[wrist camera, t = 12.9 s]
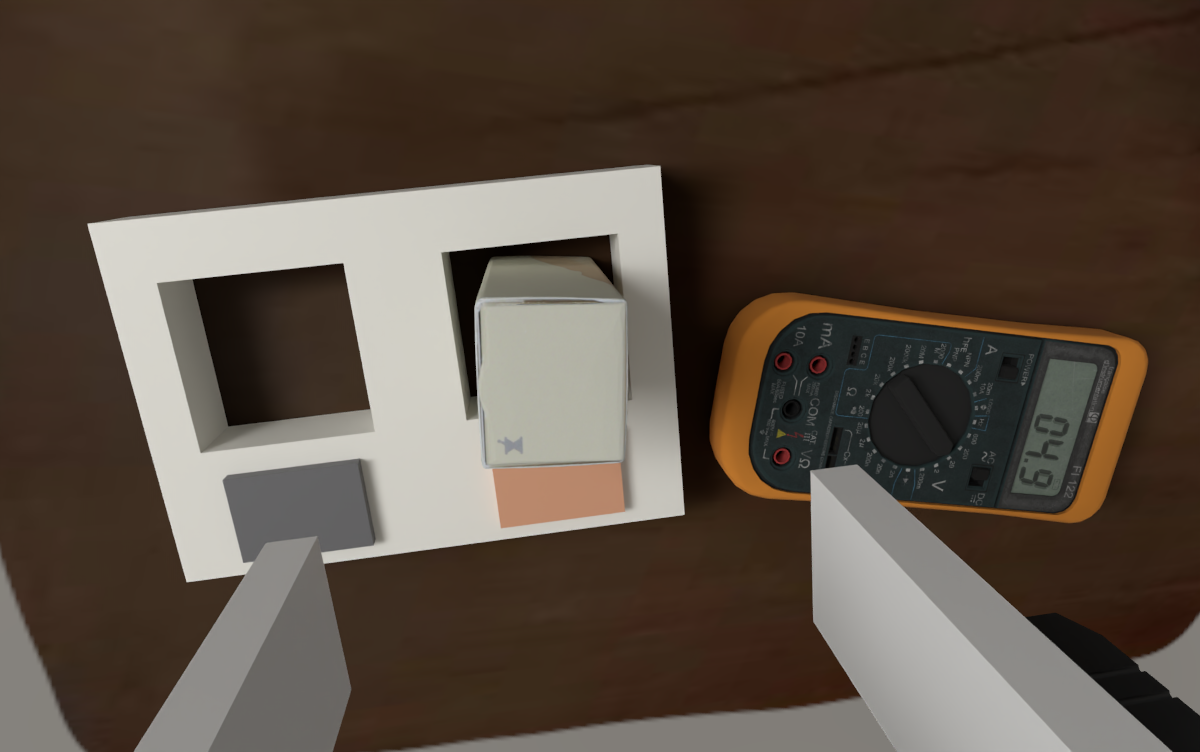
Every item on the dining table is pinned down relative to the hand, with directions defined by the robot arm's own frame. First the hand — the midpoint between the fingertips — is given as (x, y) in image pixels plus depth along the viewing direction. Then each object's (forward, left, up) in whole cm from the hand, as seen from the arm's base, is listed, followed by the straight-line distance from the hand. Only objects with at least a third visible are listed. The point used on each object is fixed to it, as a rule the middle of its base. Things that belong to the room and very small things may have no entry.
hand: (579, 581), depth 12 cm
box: (0, 0, -21) cm, 21 cm away
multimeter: (-16, +6, -22) cm, 28 cm away
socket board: (+5, +1, -21) cm, 22 cm away
